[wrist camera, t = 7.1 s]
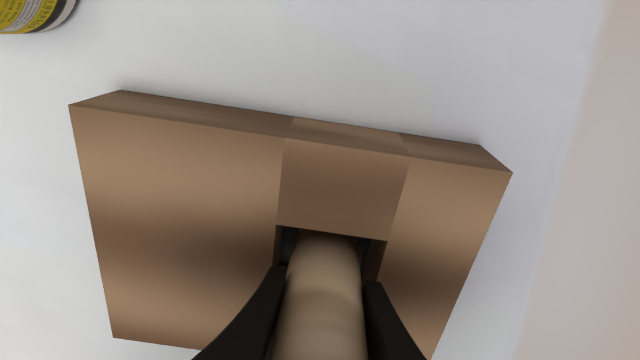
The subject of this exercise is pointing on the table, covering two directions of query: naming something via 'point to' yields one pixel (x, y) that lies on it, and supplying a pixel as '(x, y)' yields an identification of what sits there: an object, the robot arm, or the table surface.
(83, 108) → the walnut socket board
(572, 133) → the table surface
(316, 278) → the beech peg
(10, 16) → the supplement bottle
